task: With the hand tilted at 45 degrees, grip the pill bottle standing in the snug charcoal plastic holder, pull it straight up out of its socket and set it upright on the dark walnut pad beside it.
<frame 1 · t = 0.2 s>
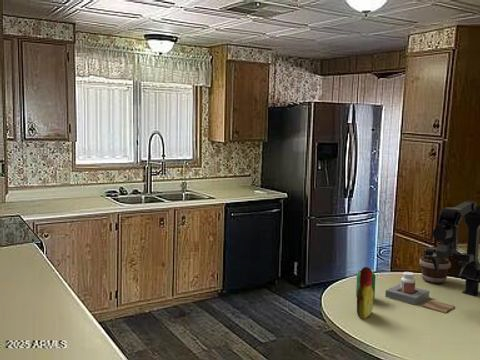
hand: (447, 274, 207), 14 cm above the table, tool pointing down, fingers open, 9 cm apart
bottle: (363, 315, 198), on the table
holder: (407, 297, 221), on the table
pill bottle: (407, 297, 221), resting in holder
pad: (438, 307, 209), on the table
beverage can: (365, 299, 218), on the table
flowerpot: (433, 281, 246), on the table
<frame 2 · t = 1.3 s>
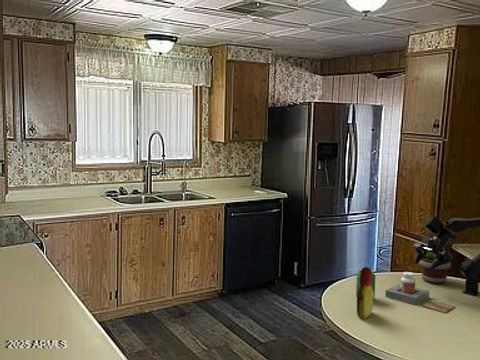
hand: (422, 266, 223), 13 cm above the table, tool tilted 45°, fingers open, 9 cm apart
nothing on the table moved.
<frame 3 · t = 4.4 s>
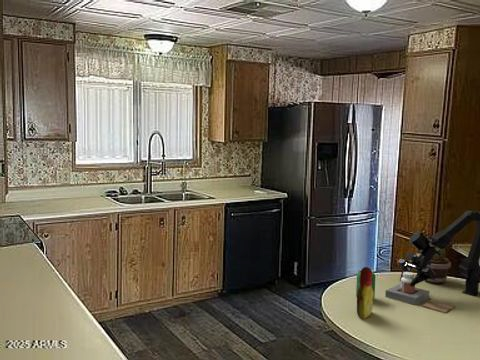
hand: (405, 283, 220), 7 cm above the table, tool tilted 45°, fingers closed on pill bottle, 6 cm apart
pill bottle: (407, 297, 221), resting in holder, touching gripper
everything else where it was.
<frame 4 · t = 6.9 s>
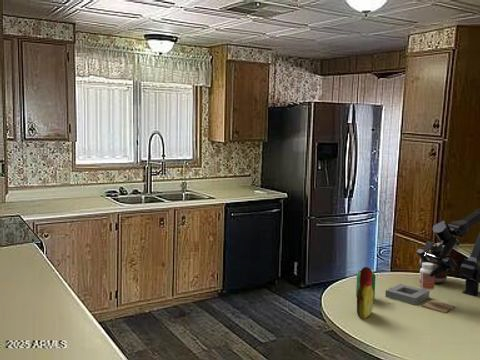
hand: (424, 273, 212), 13 cm above the table, tool tilted 45°, fingers closed on pill bottle, 6 cm apart
pill bottle: (426, 288, 213), point 6 cm above the table, touching gripper
everything else where it was.
when the fingers open (8 cm above the table, at t = 9.5 s): pill bottle stays where it is, resting on pad.
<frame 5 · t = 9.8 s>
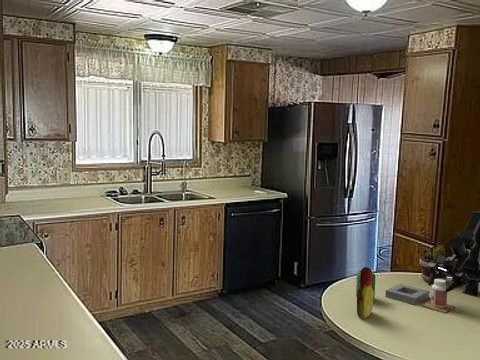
hand: (437, 288, 208), 8 cm above the table, tool tilted 45°, fingers open, 9 cm apart
pill bottle: (438, 306, 209), resting on pad
everything else where it was.
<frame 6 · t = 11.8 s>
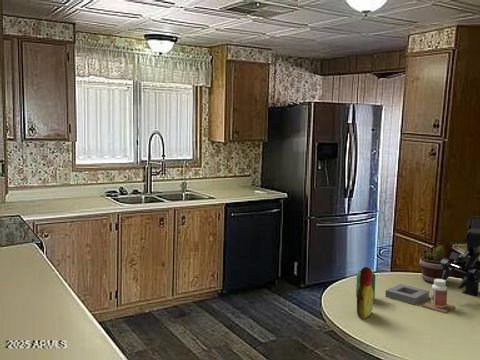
hand: (450, 284, 211), 9 cm above the table, tool tilted 45°, fingers open, 9 cm apart
nothing on the table moved.
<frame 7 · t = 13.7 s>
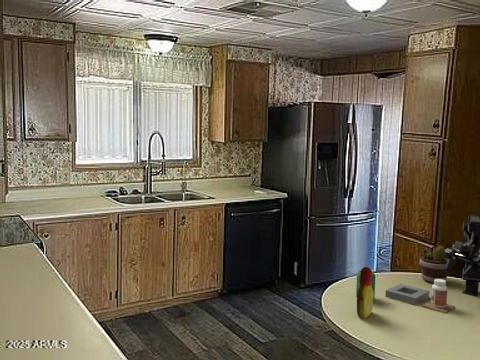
hand: (454, 273, 212), 14 cm above the table, tool tilted 45°, fingers open, 9 cm apart
nothing on the table moved.
at the end: pill bottle inside the target area on the pad (0.2 cm from its centre), point 0.4 cm above the pad's base; pill bottle tilted 0°; the gripper is holding nothing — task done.
